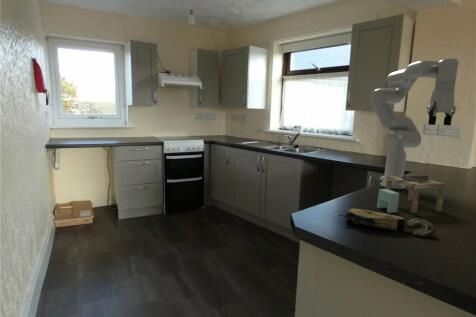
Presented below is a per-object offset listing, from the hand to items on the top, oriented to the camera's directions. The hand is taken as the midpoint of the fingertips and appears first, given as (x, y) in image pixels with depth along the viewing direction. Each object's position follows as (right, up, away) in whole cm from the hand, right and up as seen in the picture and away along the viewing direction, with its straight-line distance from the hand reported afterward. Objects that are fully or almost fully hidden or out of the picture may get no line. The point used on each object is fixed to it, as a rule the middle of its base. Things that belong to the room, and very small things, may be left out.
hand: (439, 125), depth 139 cm
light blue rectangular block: (-31, -37, -13) cm, 50 cm away
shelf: (-17, -37, -6) cm, 41 cm away
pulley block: (-41, -40, -32) cm, 66 cm away
